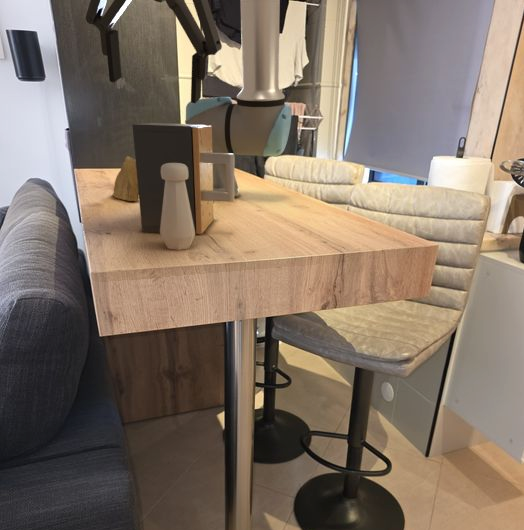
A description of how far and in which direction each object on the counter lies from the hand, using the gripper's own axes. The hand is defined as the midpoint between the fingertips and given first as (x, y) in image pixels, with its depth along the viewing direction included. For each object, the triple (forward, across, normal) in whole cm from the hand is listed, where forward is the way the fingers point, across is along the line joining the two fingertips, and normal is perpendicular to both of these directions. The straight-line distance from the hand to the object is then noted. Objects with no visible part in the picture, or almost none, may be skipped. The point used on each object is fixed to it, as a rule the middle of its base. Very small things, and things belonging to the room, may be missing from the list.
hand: (155, 89), depth 73 cm
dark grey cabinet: (+24, +4, -1) cm, 24 cm away
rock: (+36, -18, +21) cm, 45 cm away
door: (+22, +13, 0) cm, 26 cm away
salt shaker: (+18, +10, -15) cm, 25 cm away
